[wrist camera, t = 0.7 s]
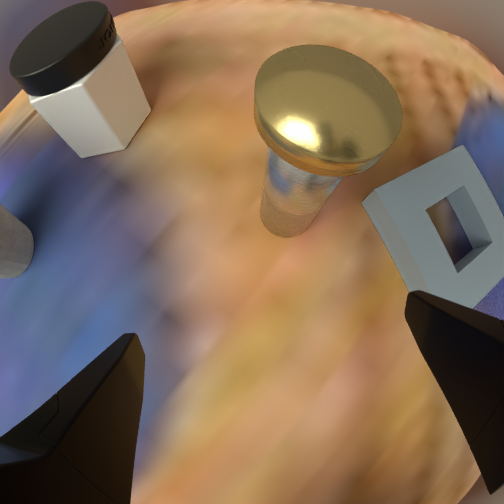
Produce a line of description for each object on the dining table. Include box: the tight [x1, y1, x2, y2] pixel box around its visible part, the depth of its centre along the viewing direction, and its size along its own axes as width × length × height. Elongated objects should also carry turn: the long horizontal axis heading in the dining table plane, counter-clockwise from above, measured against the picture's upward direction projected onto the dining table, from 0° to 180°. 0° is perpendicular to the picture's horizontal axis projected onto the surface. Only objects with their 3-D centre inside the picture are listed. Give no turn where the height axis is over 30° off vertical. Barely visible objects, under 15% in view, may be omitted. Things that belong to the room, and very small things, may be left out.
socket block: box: [361, 145, 504, 309], centre depth 22 cm, size 12×12×3 cm
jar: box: [9, 1, 151, 158], centre depth 19 cm, size 9×8×12 cm
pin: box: [254, 45, 402, 238], centre depth 17 cm, size 6×6×14 cm
